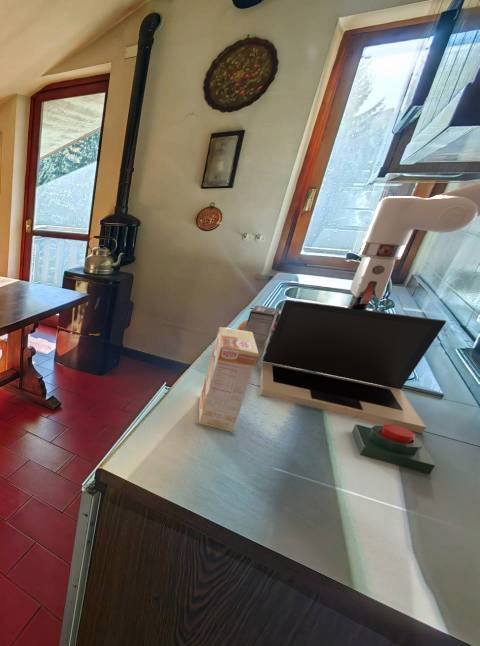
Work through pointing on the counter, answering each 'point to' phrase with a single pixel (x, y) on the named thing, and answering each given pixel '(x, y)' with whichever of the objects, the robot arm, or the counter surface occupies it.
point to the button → (397, 433)
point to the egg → (242, 325)
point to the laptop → (340, 396)
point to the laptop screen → (351, 342)
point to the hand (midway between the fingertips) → (351, 321)
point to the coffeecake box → (227, 378)
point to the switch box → (392, 449)
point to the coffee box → (261, 327)
